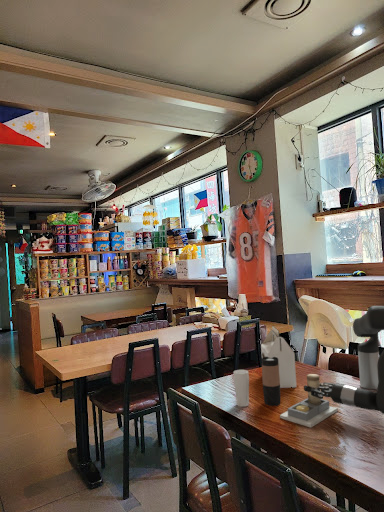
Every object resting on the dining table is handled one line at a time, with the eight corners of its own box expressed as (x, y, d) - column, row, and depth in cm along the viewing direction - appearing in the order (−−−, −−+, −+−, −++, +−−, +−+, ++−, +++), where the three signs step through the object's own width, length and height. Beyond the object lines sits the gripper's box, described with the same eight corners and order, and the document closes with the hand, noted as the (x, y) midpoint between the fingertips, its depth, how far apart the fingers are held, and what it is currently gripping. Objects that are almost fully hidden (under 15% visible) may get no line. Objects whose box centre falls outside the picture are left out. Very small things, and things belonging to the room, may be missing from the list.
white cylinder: (234, 403, 177) (232, 370, 177) (248, 401, 178) (246, 369, 178) (237, 408, 170) (234, 374, 170) (252, 407, 171) (250, 373, 171)
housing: (307, 403, 172) (307, 393, 172) (337, 410, 161) (337, 401, 161) (280, 417, 158) (279, 408, 158) (310, 427, 147) (310, 417, 147)
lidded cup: (309, 401, 166) (307, 373, 166) (321, 402, 164) (319, 374, 164) (307, 405, 161) (305, 377, 162) (320, 407, 159) (318, 378, 159)
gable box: (262, 375, 215) (259, 325, 216) (286, 374, 215) (283, 324, 215) (270, 389, 193) (266, 332, 193) (296, 387, 193) (293, 331, 193)
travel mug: (271, 407, 169) (268, 361, 169) (260, 402, 176) (257, 358, 176) (284, 403, 173) (282, 358, 173) (273, 398, 179) (271, 355, 180)
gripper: (354, 380, 157) (316, 373, 170) (336, 390, 147) (298, 381, 160) (355, 399, 157) (317, 390, 169) (338, 410, 147) (299, 400, 160)
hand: (308, 386), depth 165 cm, fingers closed on lidded cup, 5 cm apart
